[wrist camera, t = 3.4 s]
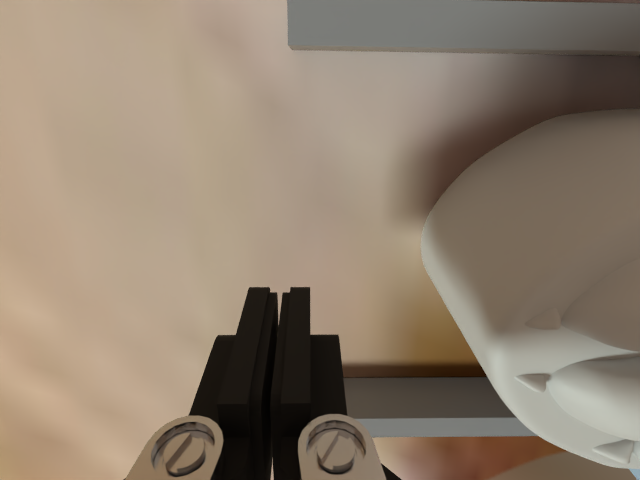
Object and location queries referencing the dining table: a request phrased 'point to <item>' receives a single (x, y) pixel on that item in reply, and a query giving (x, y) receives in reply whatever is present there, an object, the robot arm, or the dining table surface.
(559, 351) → the lumpy-topped squat cylinder
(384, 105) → the dining table surface
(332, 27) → the grey long bars
